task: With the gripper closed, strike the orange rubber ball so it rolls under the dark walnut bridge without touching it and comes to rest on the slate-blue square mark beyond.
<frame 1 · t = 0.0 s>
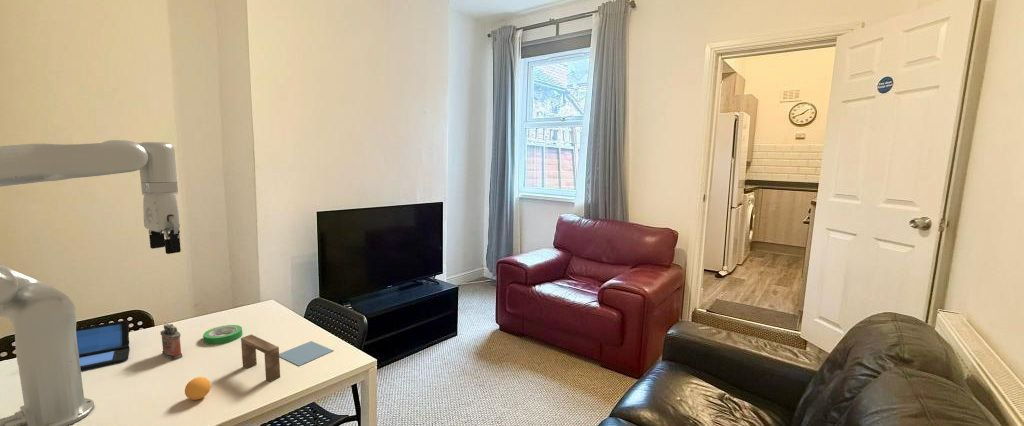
hand: (165, 250, 115), 37 cm above the table, tool pointing down, fingers open, 9 cm apart
bridge: (261, 371, 123), on the table
handheld game console: (95, 361, 127), on the table
ball: (197, 388, 109), on the table
tape roll: (223, 338, 145), on the table
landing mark: (305, 353, 135), on the table
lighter: (172, 356, 131), on the table
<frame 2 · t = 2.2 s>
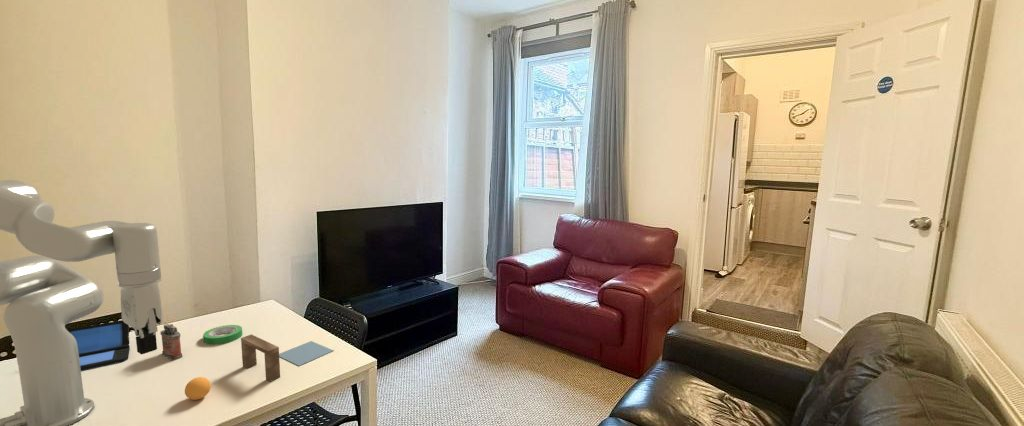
hand: (147, 351, 99), 17 cm above the table, tool pointing down, fingers closed
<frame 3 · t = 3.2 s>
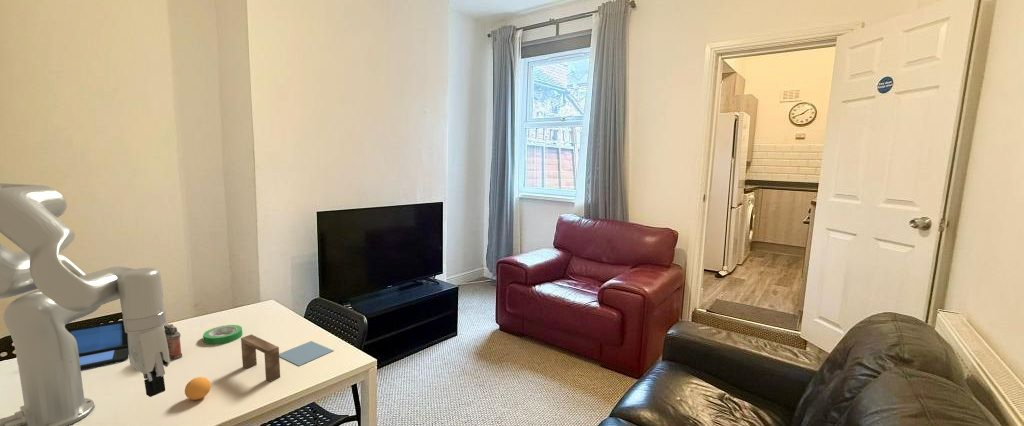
hand: (156, 393, 101), 6 cm above the table, tool pointing down, fingers closed
nothing on the table moved.
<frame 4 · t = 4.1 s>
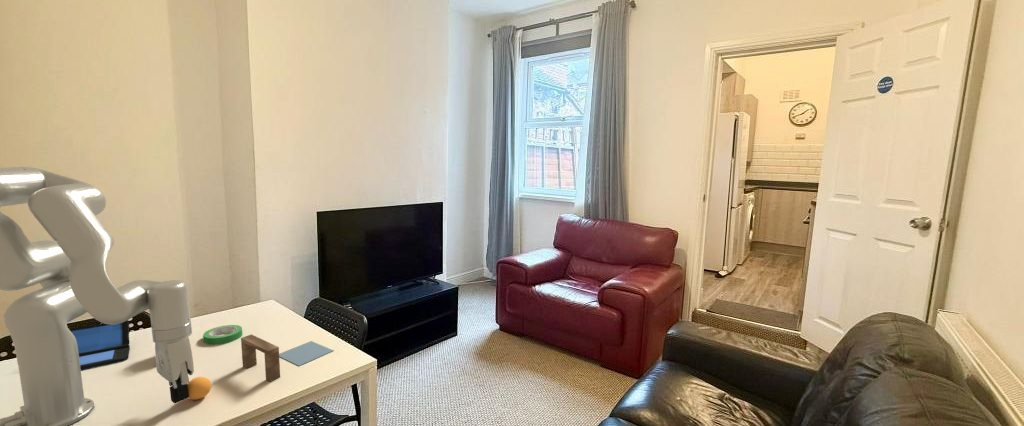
hand: (180, 399, 106), 2 cm above the table, tool pointing down, fingers closed
ball: (198, 388, 110), on the table, touching gripper
everything else where it was.
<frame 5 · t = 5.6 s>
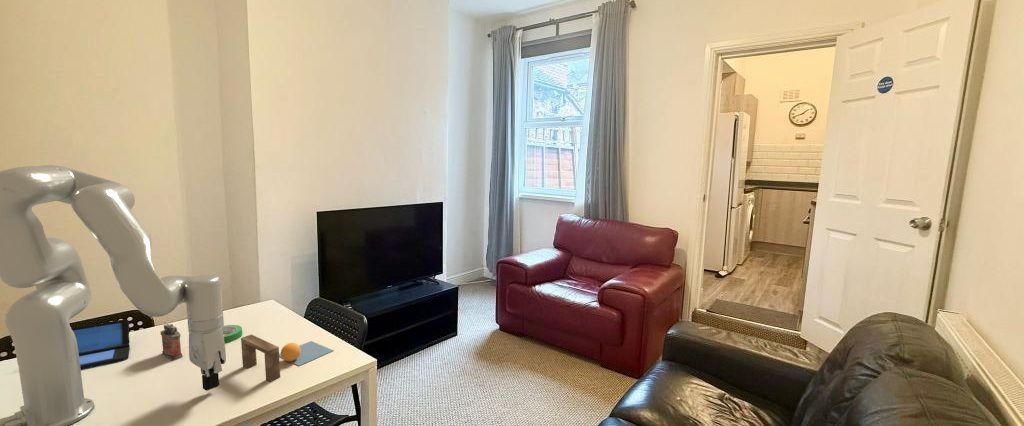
hand: (211, 387, 112), 2 cm above the table, tool pointing down, fingers closed
ball: (290, 352, 130), on the table
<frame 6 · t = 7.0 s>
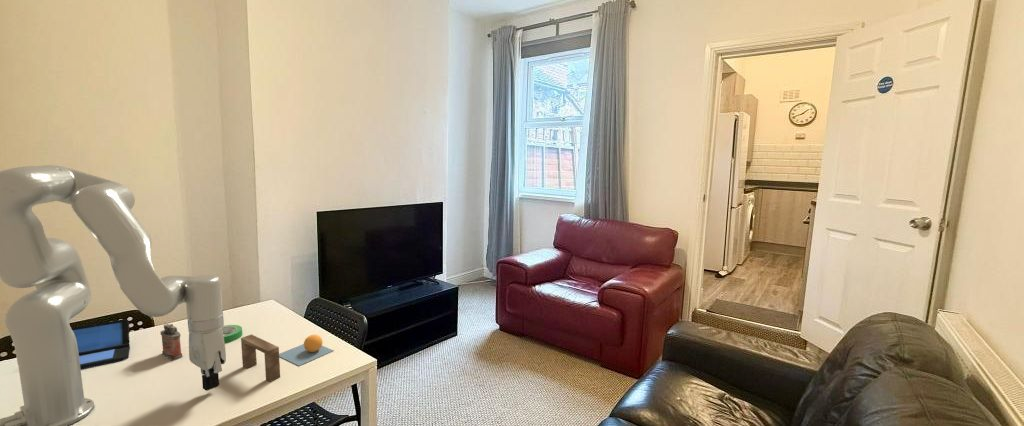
hand: (211, 387, 112), 2 cm above the table, tool pointing down, fingers closed
ball: (313, 343, 136), on the table
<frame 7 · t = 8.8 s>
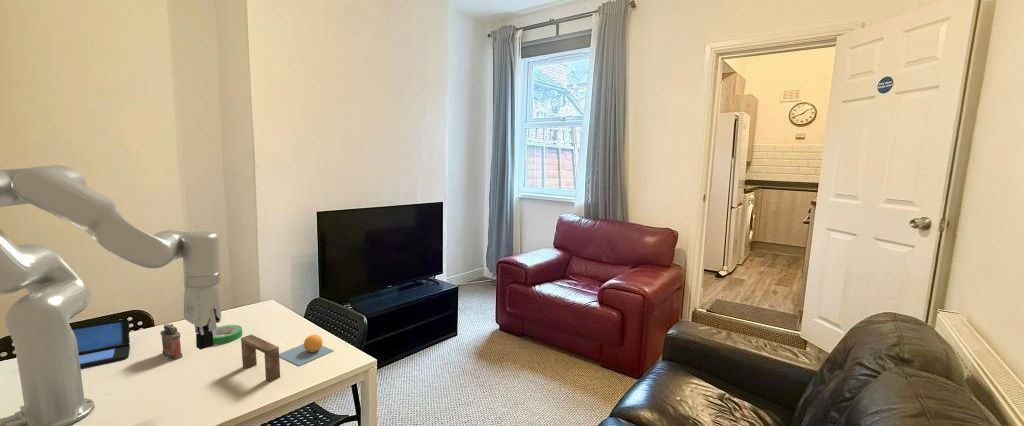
hand: (205, 346, 110), 13 cm above the table, tool pointing down, fingers closed
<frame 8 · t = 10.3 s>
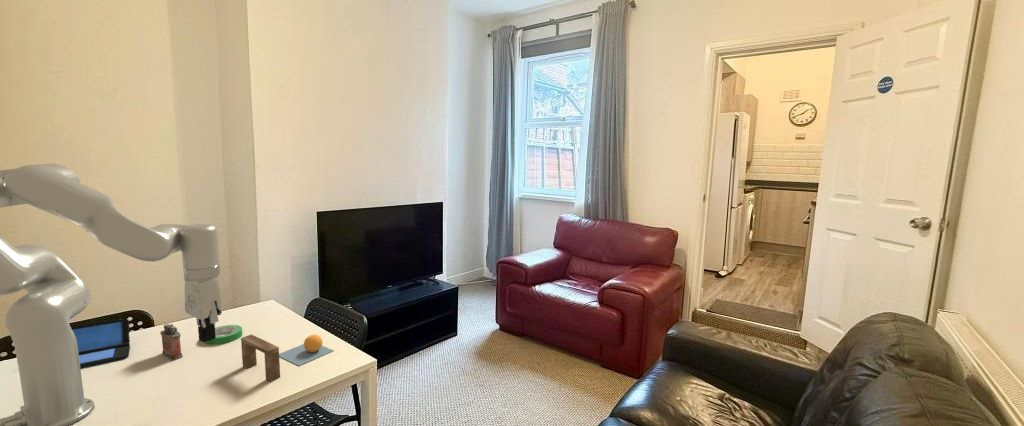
hand: (207, 339, 110), 15 cm above the table, tool pointing down, fingers closed
at the end: ball 2.4 cm from the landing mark (horizontally); ball never touched bridge; ball at rest at the end (0.0 cm/s) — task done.
